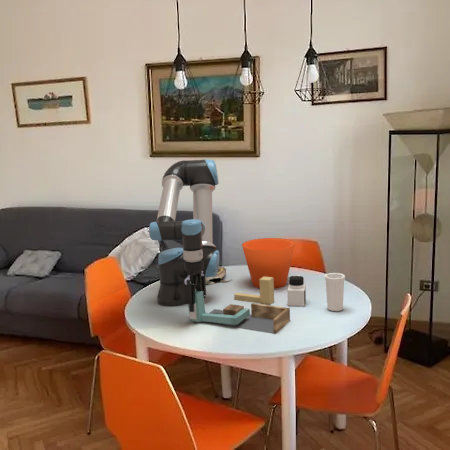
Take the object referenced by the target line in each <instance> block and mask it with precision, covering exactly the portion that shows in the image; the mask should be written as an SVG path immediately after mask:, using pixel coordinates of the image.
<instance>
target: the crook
mask: <svg viewBox="0 0 450 450" xmlns="http://www.w3.org/2000/svg"><path fill="white" fill-rule="evenodd" d="M204 296H205V295H204ZM204 296H203V291H196V290H195V303H196V312H197V319H196V320H195V319H190V318H189V321H190V322H196V323H199V322H200V323H202V322H201V321H205V322H216V323H226V324H239V323H240V322H241V321H242V320H244V319H245V318H246V317H248V316H249V315H250V314H251V312H250V311H251V308H245V307H244V309H242V310H241V311H240V312H238V313H237V314H235V315H223V314H212V313H210V312H206V306H205V299H204ZM188 313H189V314H190V311H189V310H188Z"/></svg>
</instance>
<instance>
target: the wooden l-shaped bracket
mask: <svg viewBox="0 0 450 450" xmlns="http://www.w3.org/2000/svg"><path fill="white" fill-rule="evenodd" d="M250 311H251V312H250V314H251V315H252V316H254V317H260V318H267V319H273V327H274V333H276V334H278V333H279V332H280V331H281V330H282V329H283V328H284V327H285V326H286V325H287V324H288V323H289V322H290V321H291V309H290V307H284V306H283V307H282V306H275V305H265V304H260V303H255V302H251V304H250ZM280 329H281V330H280Z"/></svg>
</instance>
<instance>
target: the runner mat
mask: <svg viewBox="0 0 450 450" xmlns="http://www.w3.org/2000/svg"><path fill="white" fill-rule="evenodd" d="M209 313H220V314H223V309H212V310H211V311H210V312H209ZM198 323H205V324H209V325H212V324H213V325H218V326H224V327H230V328H234V329H235V328H236V329H242V330H248V331H255V332H261V333H267V334H274V335H276V334H277V333H274V327H273V319H267V318H260V317H254V316H252V315H251V313H250V315H249V316H248V317H246V318H245V319H244V320H242V321H241V322H240V323H239V324H226V323H216V322H205V321H201V322H198ZM281 330H282V329H280V331H281Z"/></svg>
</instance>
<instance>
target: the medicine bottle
mask: <svg viewBox="0 0 450 450" xmlns="http://www.w3.org/2000/svg"><path fill="white" fill-rule="evenodd" d="M288 282H289V284H288V286H287V291H286V292H287V306H288V307H305V306H306V298H307V294H306V285H305V283H304V282H305V279H304V277H303V276H302V275H299V274H297V275H296V274H294V275H291V276H289V277H288Z"/></svg>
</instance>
